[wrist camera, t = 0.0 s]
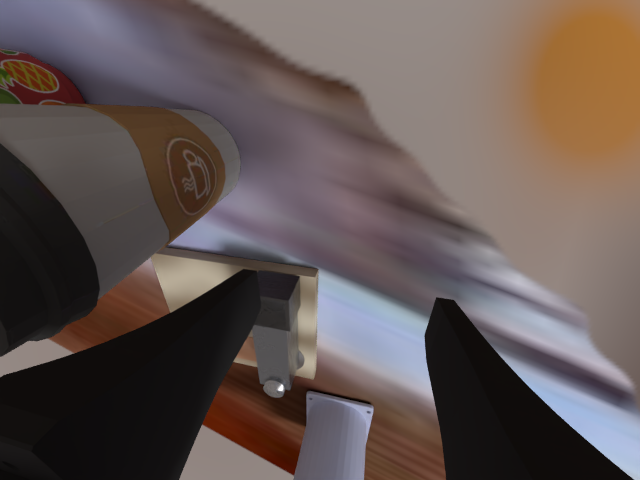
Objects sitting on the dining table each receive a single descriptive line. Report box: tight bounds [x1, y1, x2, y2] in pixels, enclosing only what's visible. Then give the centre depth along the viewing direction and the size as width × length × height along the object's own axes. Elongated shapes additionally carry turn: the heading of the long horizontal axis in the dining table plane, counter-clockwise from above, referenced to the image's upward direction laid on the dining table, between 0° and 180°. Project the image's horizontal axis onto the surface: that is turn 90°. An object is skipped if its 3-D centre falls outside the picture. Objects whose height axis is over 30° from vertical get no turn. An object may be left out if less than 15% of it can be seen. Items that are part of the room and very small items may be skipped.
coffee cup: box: [0, 103, 241, 357], centre depth 13 cm, size 8×8×15 cm
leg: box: [252, 270, 301, 398], centre depth 23 cm, size 12×4×3 cm, turn 179°
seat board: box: [151, 247, 318, 379], centre depth 27 cm, size 14×16×1 cm
